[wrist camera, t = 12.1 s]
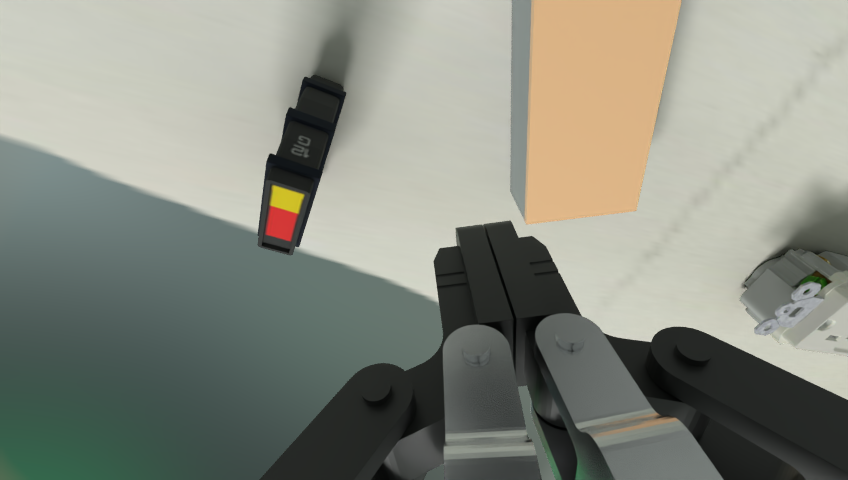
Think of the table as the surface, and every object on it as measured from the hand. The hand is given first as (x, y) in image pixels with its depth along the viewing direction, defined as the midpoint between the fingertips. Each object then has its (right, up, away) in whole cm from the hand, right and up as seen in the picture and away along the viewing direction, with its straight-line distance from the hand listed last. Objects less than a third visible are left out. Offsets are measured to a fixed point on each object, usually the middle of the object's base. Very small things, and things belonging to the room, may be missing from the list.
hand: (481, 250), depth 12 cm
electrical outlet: (+53, -5, +48) cm, 71 cm away
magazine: (-13, +11, +31) cm, 35 cm away
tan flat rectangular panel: (+13, +12, +24) cm, 30 cm away
